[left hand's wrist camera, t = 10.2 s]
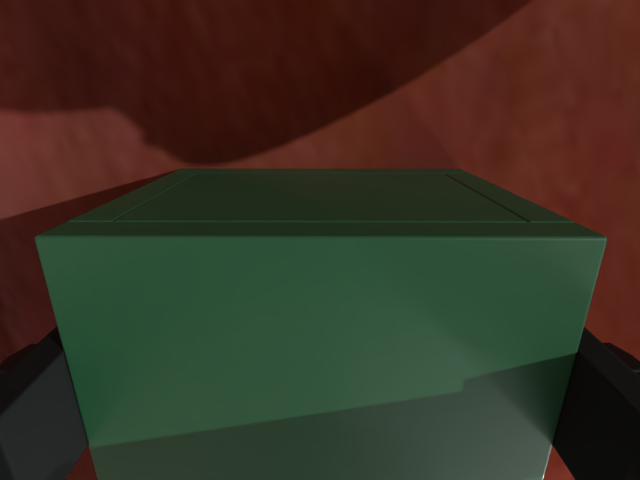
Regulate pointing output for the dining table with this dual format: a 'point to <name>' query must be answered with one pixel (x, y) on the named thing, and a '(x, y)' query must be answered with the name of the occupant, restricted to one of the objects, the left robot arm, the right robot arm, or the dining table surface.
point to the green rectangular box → (320, 325)
